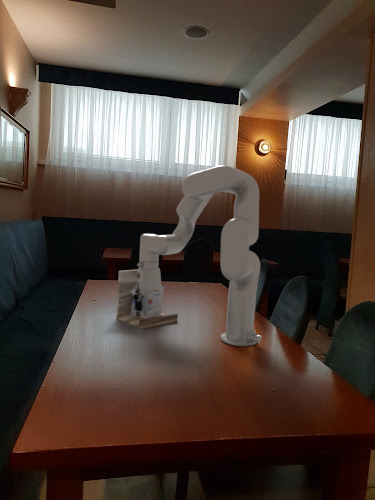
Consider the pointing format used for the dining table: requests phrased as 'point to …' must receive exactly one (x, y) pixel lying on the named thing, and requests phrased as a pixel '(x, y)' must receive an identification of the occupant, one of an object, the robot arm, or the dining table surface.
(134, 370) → the dining table surface
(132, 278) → the board
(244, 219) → the robot arm
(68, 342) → the dining table surface
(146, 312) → the light bulb box
